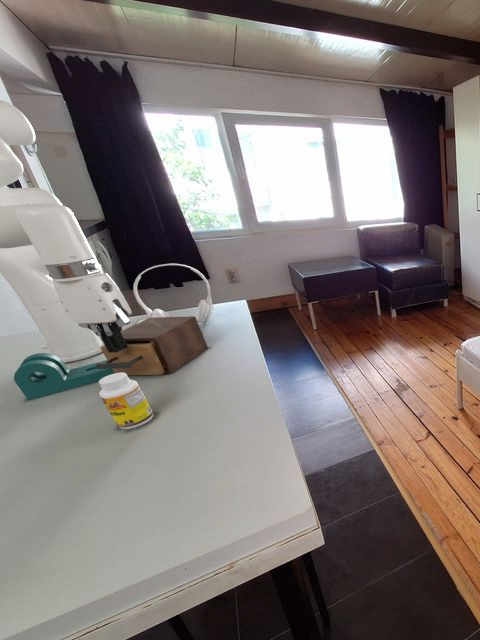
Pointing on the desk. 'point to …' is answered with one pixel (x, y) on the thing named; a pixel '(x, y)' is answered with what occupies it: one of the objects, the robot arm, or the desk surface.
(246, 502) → the desk surface
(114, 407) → the supplement bottle
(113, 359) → the drawer
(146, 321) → the cabinet
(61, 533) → the desk surface
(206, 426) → the desk surface
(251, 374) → the desk surface
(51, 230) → the robot arm
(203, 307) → the headphones
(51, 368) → the bracket
